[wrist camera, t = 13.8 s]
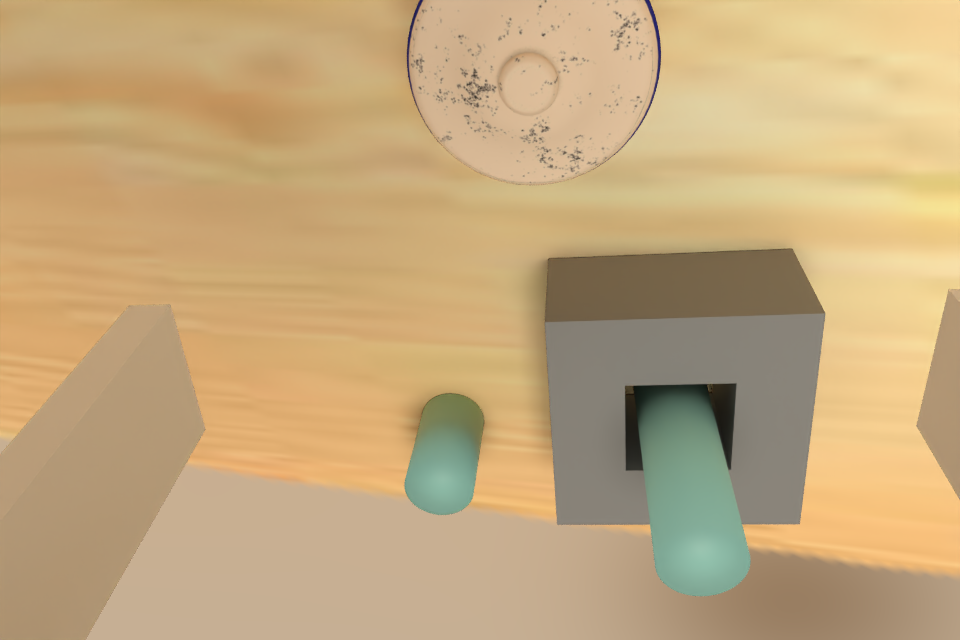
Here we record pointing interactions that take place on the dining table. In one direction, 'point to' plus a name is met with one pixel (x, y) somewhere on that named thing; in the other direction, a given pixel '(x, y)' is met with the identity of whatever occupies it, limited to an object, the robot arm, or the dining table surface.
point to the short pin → (445, 455)
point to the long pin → (689, 491)
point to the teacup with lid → (533, 82)
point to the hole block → (681, 373)
